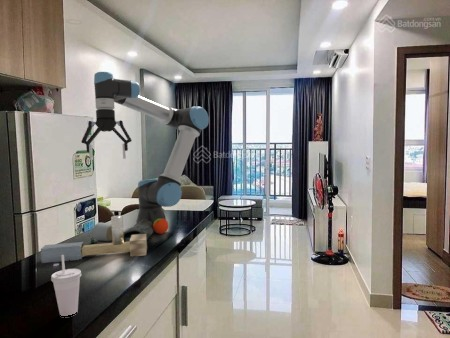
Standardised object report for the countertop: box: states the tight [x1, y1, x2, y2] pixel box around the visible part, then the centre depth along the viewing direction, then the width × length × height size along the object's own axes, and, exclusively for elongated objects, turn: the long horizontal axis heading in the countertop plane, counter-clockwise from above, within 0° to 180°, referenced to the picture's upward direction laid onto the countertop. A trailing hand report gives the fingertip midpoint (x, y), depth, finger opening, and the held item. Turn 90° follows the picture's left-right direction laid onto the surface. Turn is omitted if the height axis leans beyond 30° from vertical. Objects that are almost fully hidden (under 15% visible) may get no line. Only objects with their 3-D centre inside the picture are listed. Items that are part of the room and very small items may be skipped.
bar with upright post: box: [81, 215, 130, 257], centre depth 123 cm, size 23×4×13 cm, turn 101°
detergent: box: [123, 219, 154, 242], centre depth 146 cm, size 13×7×25 cm
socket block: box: [129, 234, 148, 257], centre depth 125 cm, size 6×9×6 cm, turn 11°
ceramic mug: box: [92, 222, 112, 242], centre depth 145 cm, size 11×8×8 cm
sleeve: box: [40, 241, 85, 264], centre depth 120 cm, size 13×5×5 cm, turn 101°
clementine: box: [152, 218, 169, 235], centre depth 152 cm, size 8×7×7 cm
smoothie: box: [50, 255, 82, 317], centre depth 78 cm, size 6×6×14 cm
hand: (108, 159), depth 144 cm, fingers open, 13 cm apart
